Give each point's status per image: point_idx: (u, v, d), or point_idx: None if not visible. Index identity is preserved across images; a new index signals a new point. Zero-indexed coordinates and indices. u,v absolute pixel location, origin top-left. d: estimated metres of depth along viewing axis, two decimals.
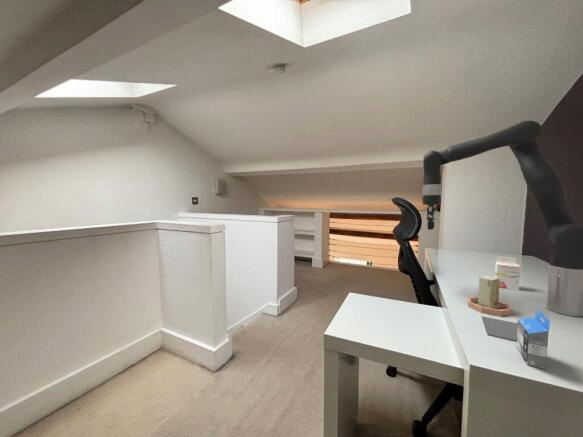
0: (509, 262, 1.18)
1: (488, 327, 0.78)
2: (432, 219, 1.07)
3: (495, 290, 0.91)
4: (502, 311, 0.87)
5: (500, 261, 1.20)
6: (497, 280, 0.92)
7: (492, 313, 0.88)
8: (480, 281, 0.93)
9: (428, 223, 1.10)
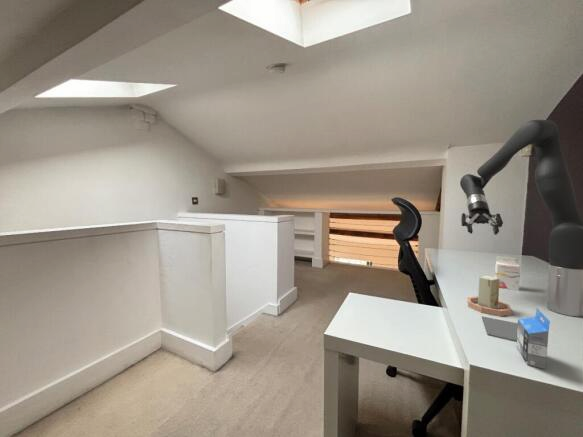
0: (509, 262, 1.18)
1: (488, 327, 0.78)
2: (462, 222, 1.08)
3: (495, 290, 0.91)
4: (502, 311, 0.87)
5: (500, 261, 1.20)
6: (497, 280, 0.92)
7: (492, 313, 0.88)
8: (480, 281, 0.93)
9: None
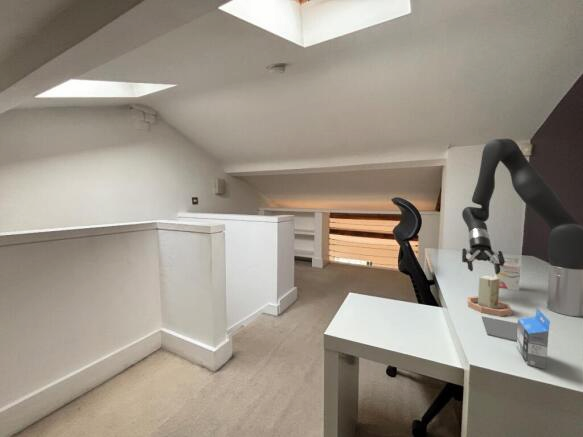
0: (509, 262, 1.18)
1: (488, 327, 0.78)
2: (462, 258, 1.06)
3: (495, 290, 0.91)
4: (502, 311, 0.87)
5: None
6: (497, 280, 0.92)
7: (492, 313, 0.88)
8: (480, 281, 0.93)
9: None
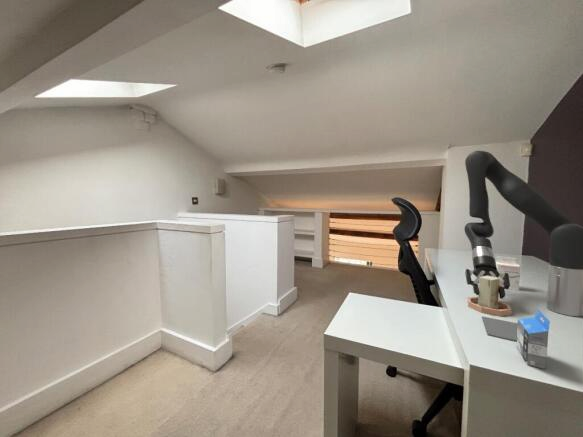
0: (509, 262, 1.18)
1: (488, 327, 0.78)
2: (468, 281, 0.97)
3: (495, 290, 0.91)
4: (502, 311, 0.87)
5: (500, 261, 1.20)
6: (497, 280, 0.92)
7: (492, 313, 0.88)
8: (480, 281, 0.93)
9: None
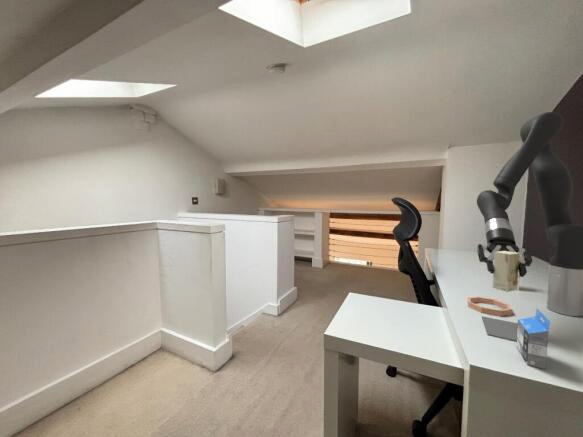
0: None
1: (488, 327, 0.78)
2: (480, 257, 0.82)
3: (514, 266, 0.76)
4: (502, 311, 0.87)
5: None
6: (516, 255, 0.77)
7: (492, 313, 0.88)
8: (495, 256, 0.78)
9: None
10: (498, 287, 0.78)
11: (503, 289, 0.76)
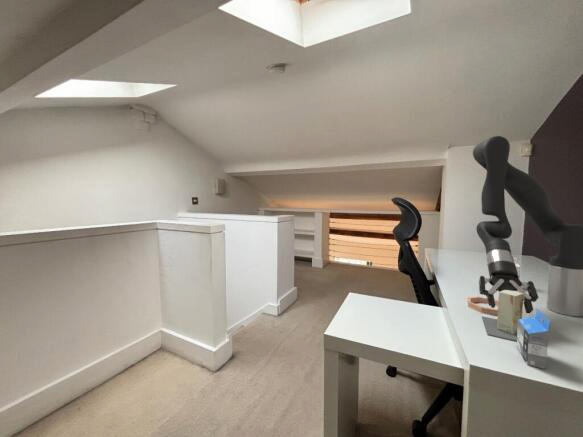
0: None
1: (488, 327, 0.78)
2: (481, 290, 0.81)
3: (519, 307, 0.75)
4: None
5: None
6: (521, 295, 0.75)
7: (492, 313, 0.88)
8: (500, 296, 0.76)
9: None
10: (503, 328, 0.76)
11: (508, 331, 0.75)
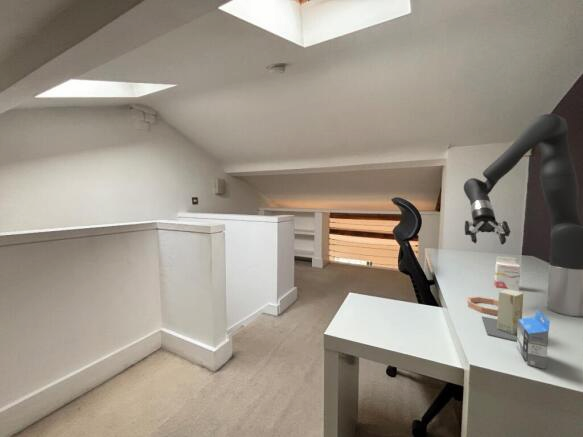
0: (509, 262, 1.18)
1: (488, 327, 0.78)
2: (465, 231, 1.00)
3: (519, 307, 0.75)
4: None
5: (500, 261, 1.20)
6: (521, 295, 0.75)
7: (492, 313, 0.88)
8: (500, 296, 0.76)
9: None
10: (503, 328, 0.76)
11: (508, 331, 0.75)
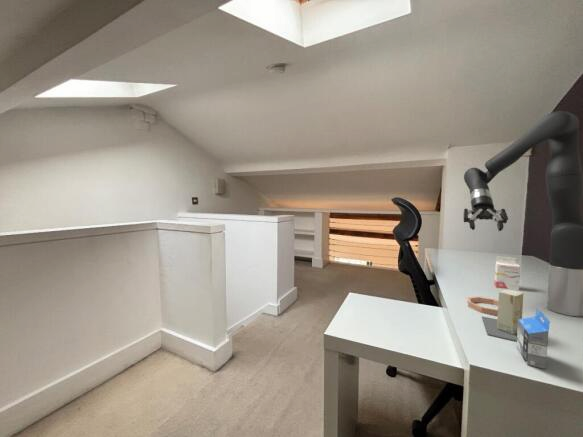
0: (509, 262, 1.18)
1: (488, 327, 0.78)
2: (464, 218, 1.02)
3: (519, 307, 0.75)
4: None
5: (500, 261, 1.20)
6: (521, 295, 0.75)
7: (492, 313, 0.88)
8: (500, 296, 0.76)
9: None
10: (503, 328, 0.76)
11: (508, 331, 0.75)
